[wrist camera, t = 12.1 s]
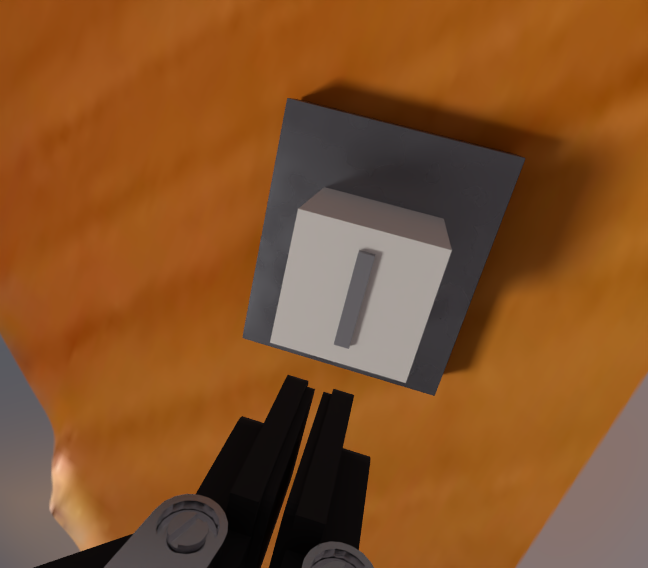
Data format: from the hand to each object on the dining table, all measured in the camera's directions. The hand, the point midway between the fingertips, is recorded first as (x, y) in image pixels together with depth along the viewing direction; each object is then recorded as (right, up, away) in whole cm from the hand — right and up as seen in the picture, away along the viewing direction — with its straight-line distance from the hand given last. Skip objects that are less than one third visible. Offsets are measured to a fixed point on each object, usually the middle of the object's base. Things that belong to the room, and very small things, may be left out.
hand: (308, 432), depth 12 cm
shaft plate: (+3, +6, +16) cm, 17 cm away
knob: (+3, +5, +14) cm, 15 cm away
